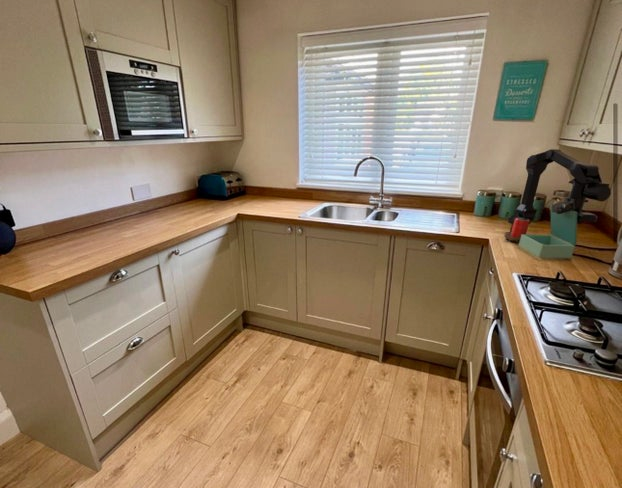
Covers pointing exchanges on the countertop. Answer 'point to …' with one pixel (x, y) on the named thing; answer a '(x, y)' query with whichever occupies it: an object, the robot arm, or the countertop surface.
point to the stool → (512, 237)
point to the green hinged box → (546, 246)
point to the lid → (564, 226)
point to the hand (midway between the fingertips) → (566, 232)
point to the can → (520, 227)
